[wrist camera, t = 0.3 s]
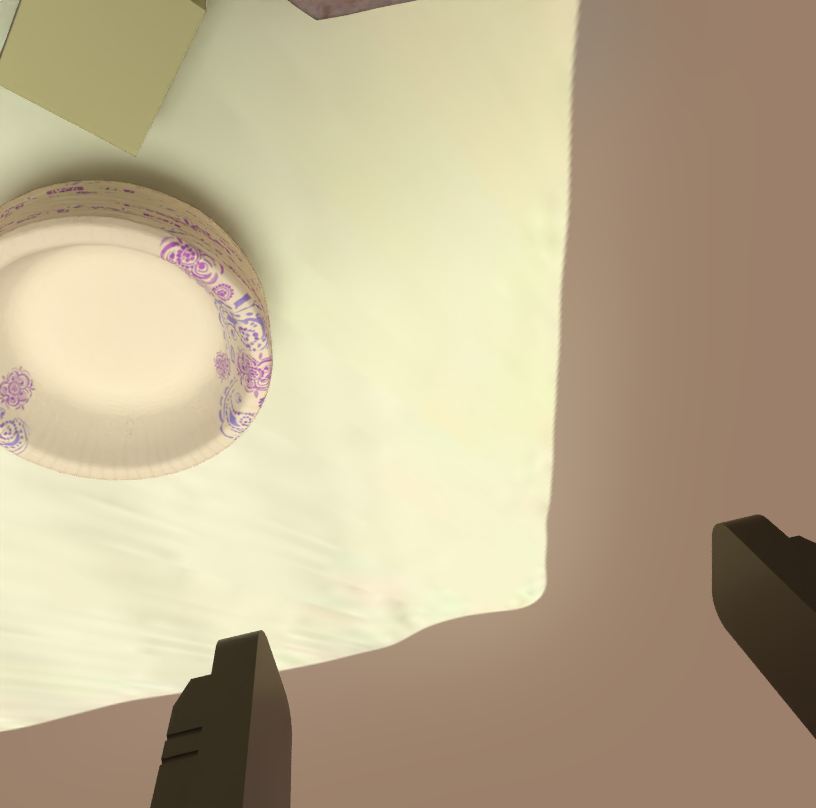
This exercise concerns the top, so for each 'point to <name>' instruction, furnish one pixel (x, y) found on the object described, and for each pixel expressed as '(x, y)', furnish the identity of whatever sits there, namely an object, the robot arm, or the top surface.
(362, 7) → the moka pot
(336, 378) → the top surface
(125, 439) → the paper bowls
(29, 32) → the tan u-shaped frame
